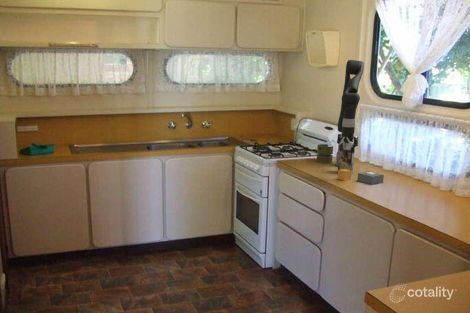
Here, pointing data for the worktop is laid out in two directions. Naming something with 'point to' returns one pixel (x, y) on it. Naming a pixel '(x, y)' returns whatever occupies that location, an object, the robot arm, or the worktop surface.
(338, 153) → the robot arm
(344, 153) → the coffee box
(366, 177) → the grey square block
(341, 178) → the orange matte cube
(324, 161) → the piston
